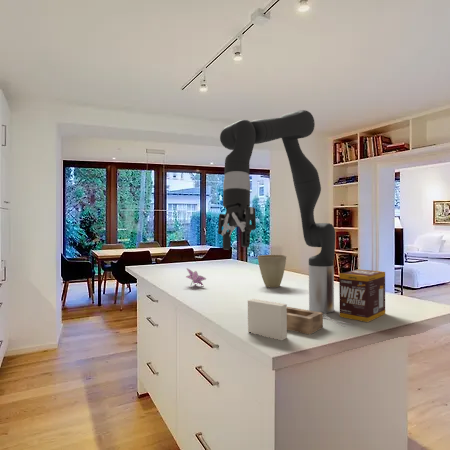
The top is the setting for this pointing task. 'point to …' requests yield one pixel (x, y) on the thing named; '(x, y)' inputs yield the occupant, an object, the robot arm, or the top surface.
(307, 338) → the top surface
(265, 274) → the plant pot
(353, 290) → the supplement box
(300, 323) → the walnut box
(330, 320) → the scissors
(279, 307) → the white rectangular block
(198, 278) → the lily
